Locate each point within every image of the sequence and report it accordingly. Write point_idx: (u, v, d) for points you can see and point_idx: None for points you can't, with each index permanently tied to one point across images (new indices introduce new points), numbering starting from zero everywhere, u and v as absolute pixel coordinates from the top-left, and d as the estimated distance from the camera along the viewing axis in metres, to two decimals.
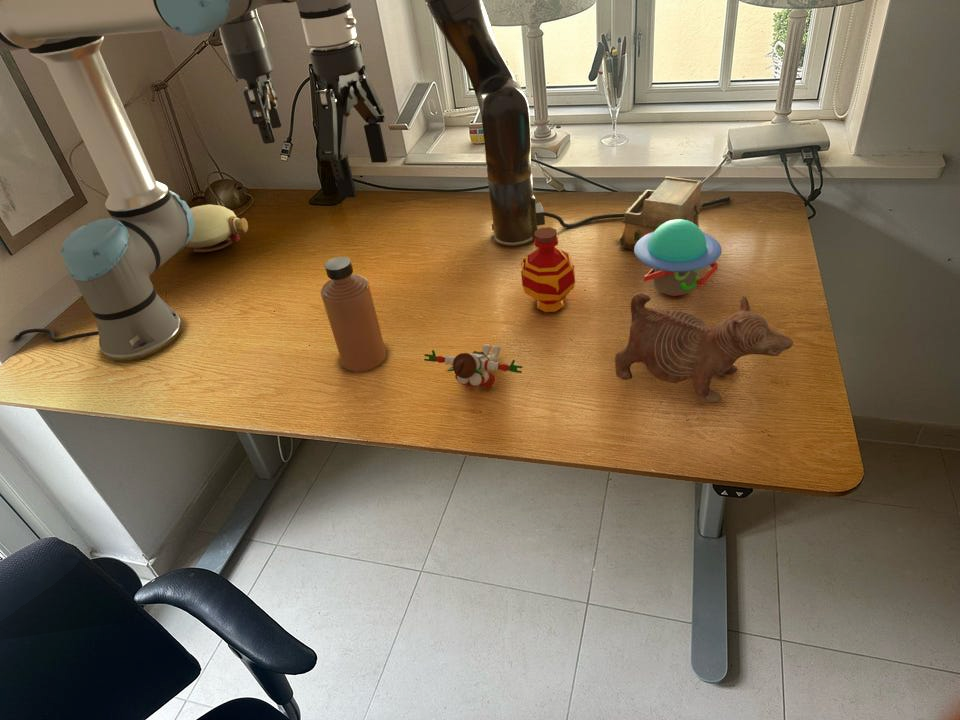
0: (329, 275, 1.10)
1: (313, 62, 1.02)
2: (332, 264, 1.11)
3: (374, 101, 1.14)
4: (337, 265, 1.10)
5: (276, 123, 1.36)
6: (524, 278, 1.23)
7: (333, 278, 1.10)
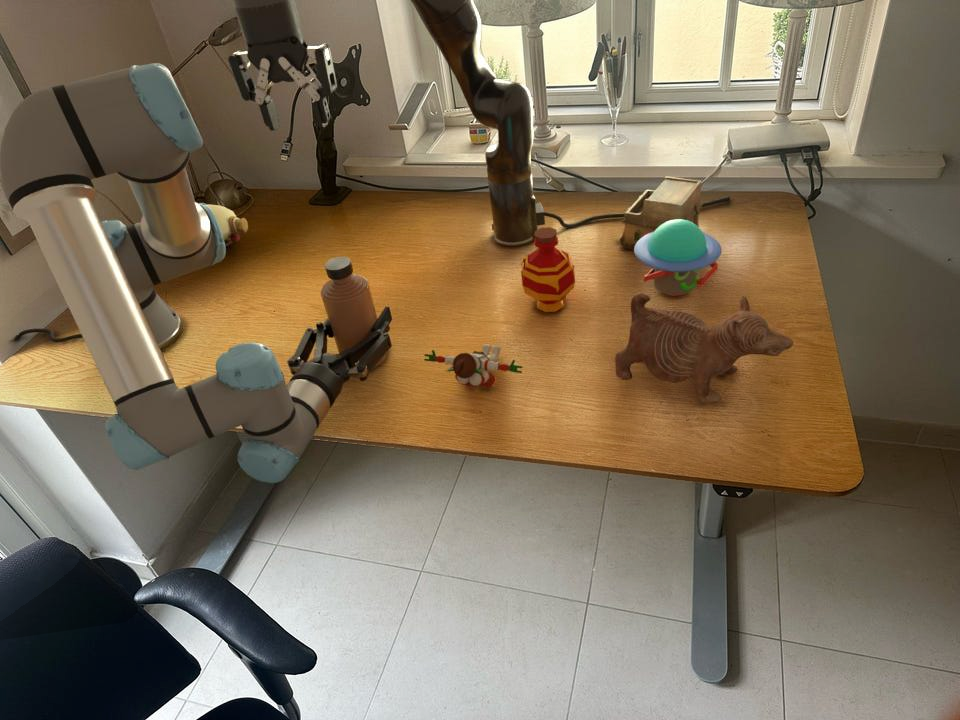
0: (329, 275, 1.10)
1: (293, 374, 1.06)
2: (332, 264, 1.11)
3: None
4: (337, 265, 1.10)
5: (276, 121, 0.98)
6: (524, 278, 1.23)
7: (333, 278, 1.10)
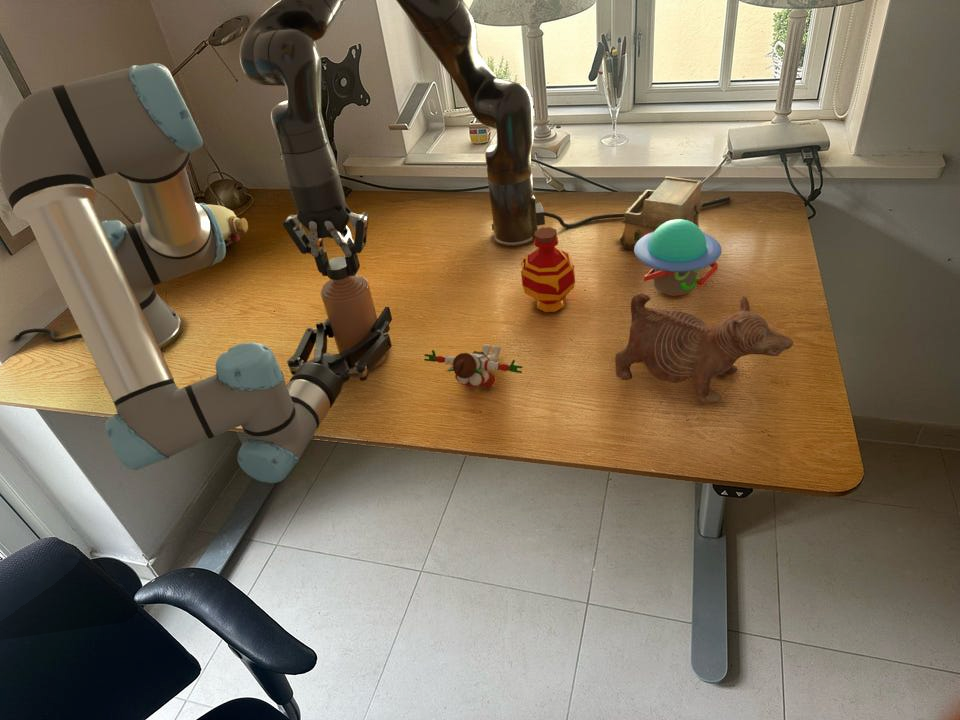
0: (329, 275, 1.10)
1: None
2: (332, 264, 1.11)
3: None
4: (337, 265, 1.10)
5: None
6: (524, 278, 1.23)
7: (333, 278, 1.10)
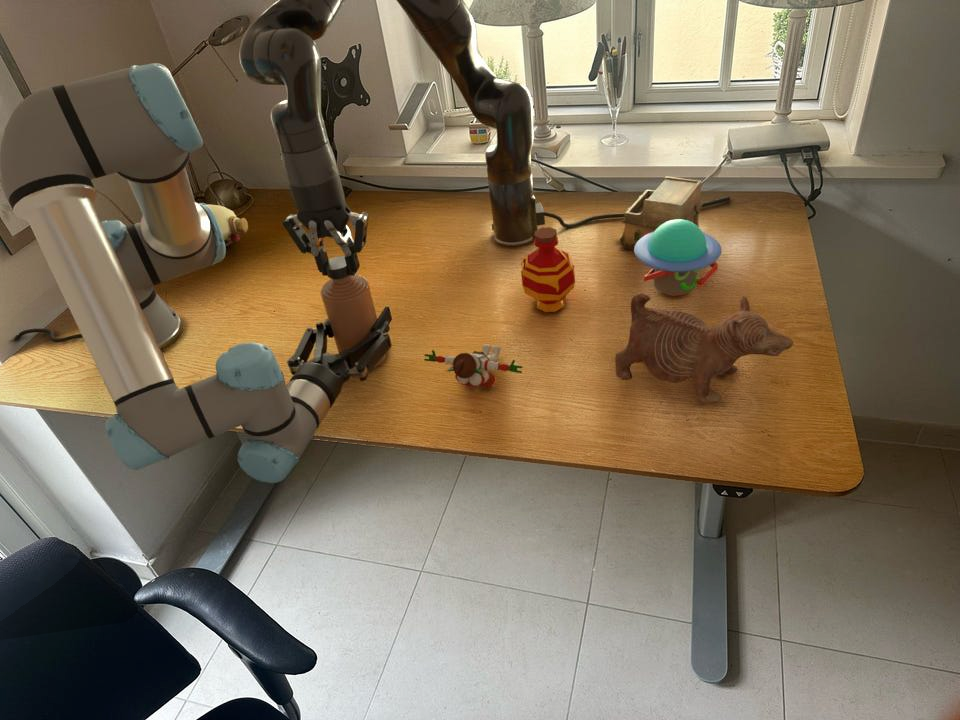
0: None
1: None
2: (339, 264, 1.10)
3: None
4: (341, 261, 1.11)
5: None
6: (524, 278, 1.23)
7: None
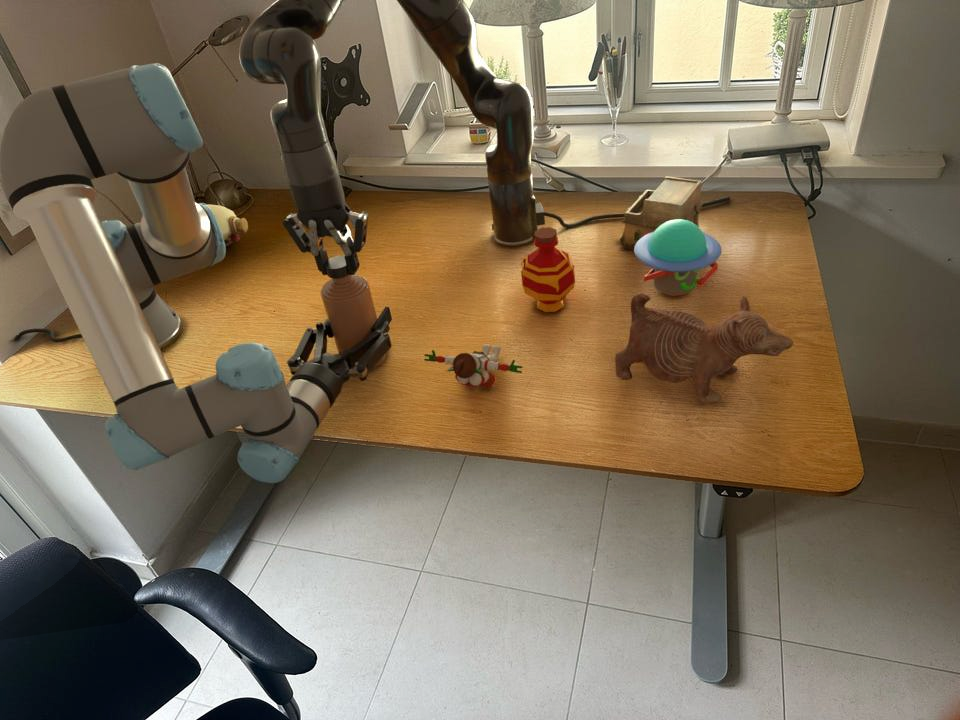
0: None
1: None
2: (341, 259, 1.11)
3: None
4: (335, 260, 1.11)
5: None
6: (524, 278, 1.23)
7: None
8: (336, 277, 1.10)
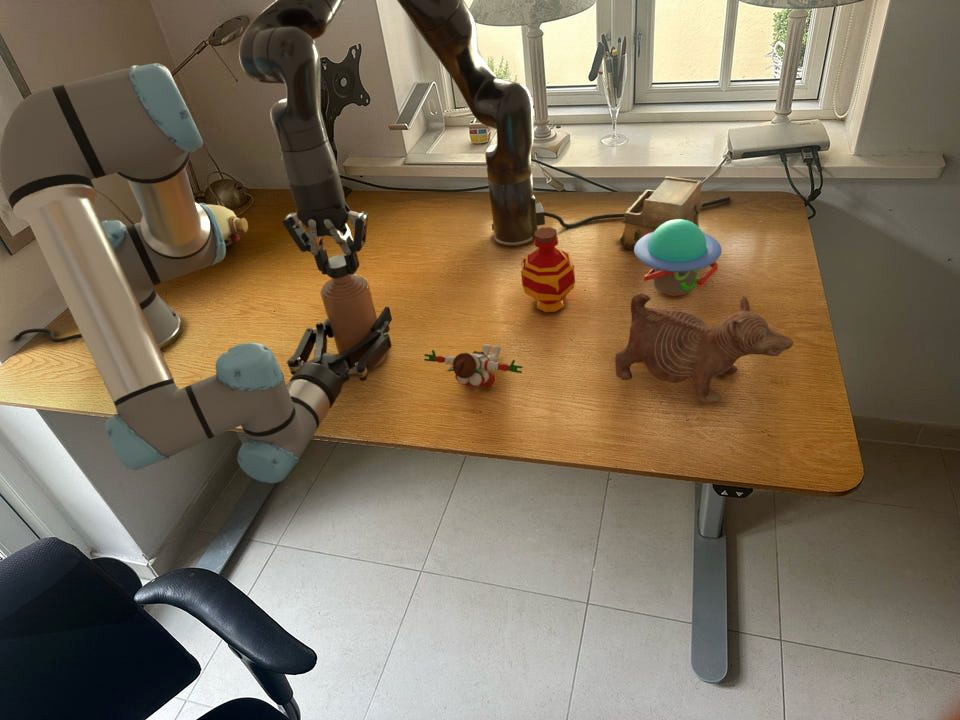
0: (326, 270, 1.11)
1: (293, 375, 1.06)
2: (332, 261, 1.11)
3: None
4: (334, 263, 1.10)
5: None
6: (524, 278, 1.23)
7: (327, 274, 1.11)
8: None
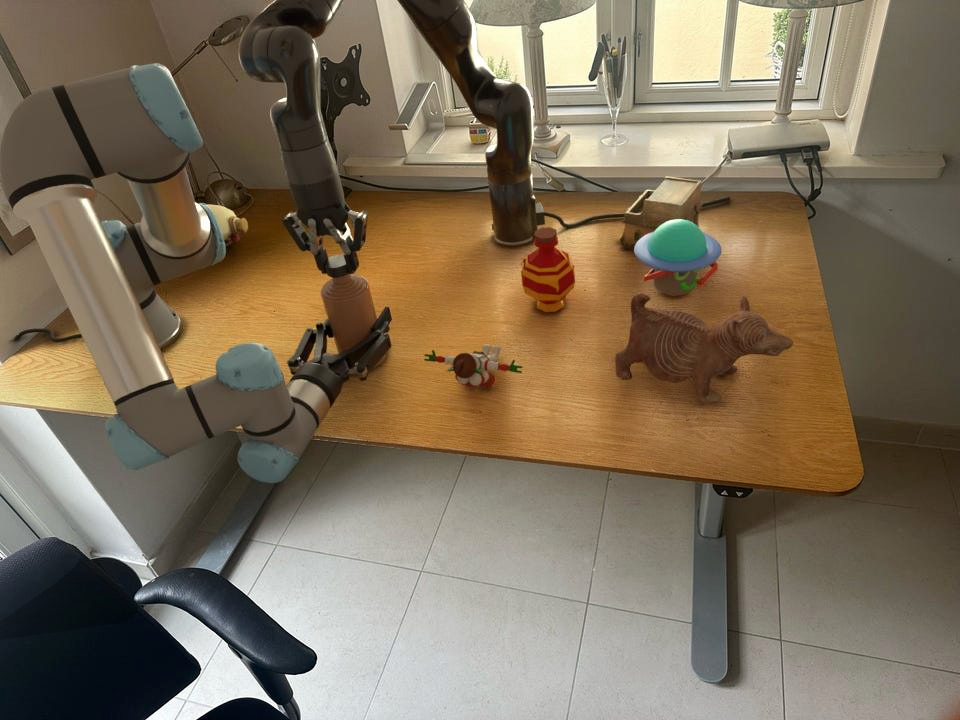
0: (343, 272, 1.10)
1: (293, 375, 1.06)
2: (335, 263, 1.10)
3: None
4: (341, 261, 1.10)
5: None
6: (524, 278, 1.23)
7: None
8: None
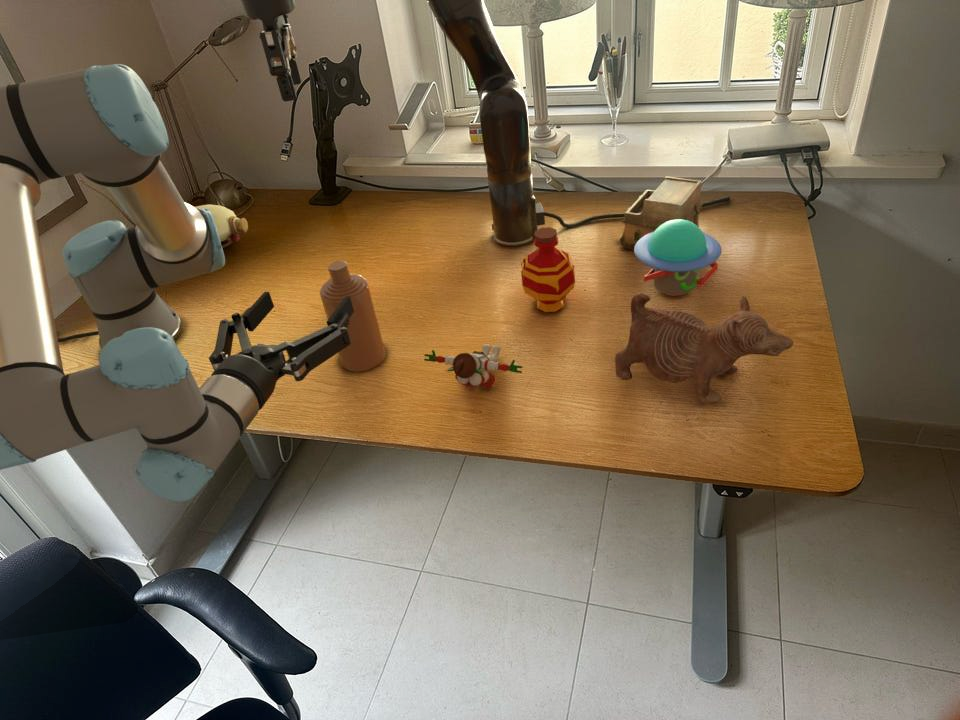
0: None
1: None
2: None
3: None
4: None
5: None
6: (524, 278, 1.23)
7: None
8: None
